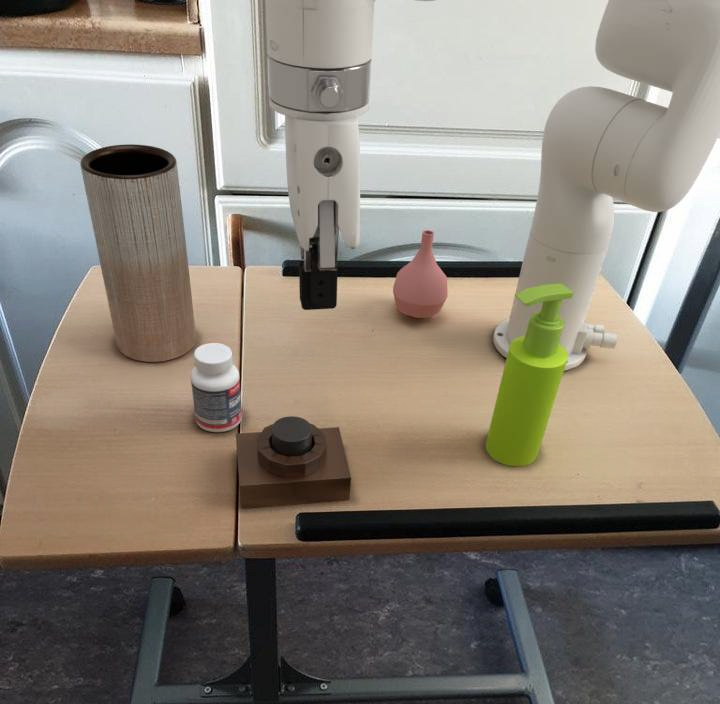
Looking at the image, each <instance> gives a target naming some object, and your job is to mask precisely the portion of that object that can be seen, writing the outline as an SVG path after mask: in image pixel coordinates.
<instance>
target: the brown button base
mask: <svg viewBox="0 0 720 704" xmlns="http://www.w3.org/2000/svg"><path fill="white" fill-rule="evenodd" d="M273 424H274V423H271V424H270V425H267V426H265V427H264V428H263V429H262V430H261V431H255V432H253V431H252V432H239V433H238V432H237V433H235V444H236V456H237V457H236V458H237V471H238V483H239V495H240V497H239V498H240V509H254V508H265V507H266V508H267V507H268V508H269V507H278V506H291V505H293V506H294V505H303V504H316V503H317V504H318V503H330V502H342V501H350V499H351V498H350V497H351V486H352V475H351V470H350V466H349V462H348V459H347V455H346V450H345V445H344V442H343V437H342V434H341V430H340V427H339V426H336V427H334V426H333V427H320V428H319V427H317V426H316V425H315V424H314V423H310V424H311V426H312V446H311V449H310V450H309V451H308V452H307V453H306V454H304V455H302V456H292V457H287V456H284V455H280V454H278V453H277V452H276V451H275V450H274V449H273V447H272V426H273Z"/></svg>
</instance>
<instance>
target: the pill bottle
mask: <svg viewBox="0 0 720 704" xmlns="http://www.w3.org/2000/svg"><path fill="white" fill-rule="evenodd" d="M193 359H194V365H195V366H194V367H193V368H192V370H191V373H190V384H191V393H192V399H193V400H192V401H193V409H194V410H193V411H194V419H195V423H196V425H198V427H199V428H201V429H202V430H205V431H207V432H211V433H225V432H227V431H231V430H233V429H235V428H236V427H237V426H239V424H240V423H241V422H242V418H243V410H242V396H241V392H242V391H241V381H240V380H241V378H240V372H239V369H238V368H237V367H236V365H235V364H234V358H233V351H232V349H231V348H230V347H229V346H228V345H226V344H224V343H219V342H209V343H205V344H201V345H199V346H198V347H196V349H195V350H194V351H193Z"/></svg>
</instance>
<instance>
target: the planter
mask: <svg viewBox="0 0 720 704" xmlns="http://www.w3.org/2000/svg"><path fill="white" fill-rule="evenodd" d="M79 165H80V170H81V176H82V181H83V185H84V190H85V195H86V200H87V205H88V210H89V215H90V221H91V226H92V229H93V235H94V239H95V244H96V249H97V255H98V259H99V264H100V268H101V275H102V279H103V284H104V289H105V295H106V299H107V305H108V308H109V313H110V319H111V324H112V328H113V334H114V338H115V339H114V340H115V342H116V345H117V348H118V350H119V352H121V353H122V354H123V355H124V356H126V357H128V358H129V359H133V360H136V361H141V362H147V363H156V362H157V363H158V362H166V361H170V360H171V361H172V360H173V359H176V358H179V357H181V356H183V355H185V354H186V353H188V352H189V351H191V350H192V349H193V347H194V346H195V344H196V341H197V334H196V333H197V332H196V323H195V322H196V321H195V313H194V304H193V295H192V286H191V285H192V284H191V277H190V268H189V258H188V251H187V250H188V249H187V241H186V240H187V239H186V232H185V224H184V213H183V206H182V195H181V187H180V179H179V170H178V162H177V159H176V156H174V155H173V154H172V152H170V151H168V150H166V149H164V148H160V147H157V146H153V145H145V144H134V143H133V144H130V143H129V144H113V145H108V146H103V147H100V148H96V149H93V150H92V151H89V152H88V153H86V154H84V156H82V158H81V160H80V164H79Z"/></svg>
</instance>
